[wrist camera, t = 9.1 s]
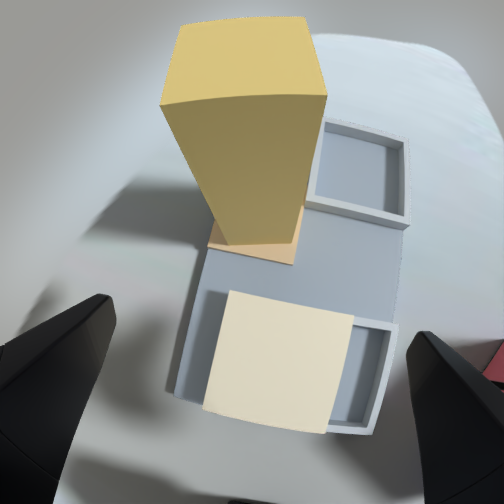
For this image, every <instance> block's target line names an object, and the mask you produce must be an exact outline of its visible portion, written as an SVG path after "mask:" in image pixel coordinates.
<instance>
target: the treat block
mask: <svg viewBox="0 0 504 504" xmlns="http://www.w3.org/2000/svg"><path fill="white" fill-rule="evenodd" d="M326 100H327V91H326V87H325V83H324V80H323V76H322V72H321V69H320V65H319V62H318V58H317V55H316V51H315V48H314V45H313V42H312V38H311V35H310V32H309V29H308V26H307V23H306V20H305V18H304V17H250V18H234V19H223V20H214V21H206V22H199V23H193V24H187V25H182V26H181V29H180V31H179V35H178V38H177V41H176V44H175V48H174V51H173V55H172V58H171V62H170V66H169V69H168V73H167V77H166V81H165V85H164V89H163V93H162V97H161V102H160V107H161V110H162V112H163V114H164V116H165V118H166V120H167V122H168V124H169V126H170V128H171V130H172V132H173V134H174V137H175V139H176V141H177V143H178V145H179V147H180V149H181V151H182V153H183V155H184V157H185V159H186V161H187V163H188V165H189V167H190V169H191V171H192V173H193V175H194V177H195V179H196V181H197V183H198V186H199V188H200V190H201V192H202V194H203V196H204V198H205V200H206V202H207V204H208V206H209V208H210V210H211V212H212V214H213V216H214V218H215V220H216V222H217V224H218V225H219V227H220V229H221V231H222V233H223V235H224V237H225V239H226V241H227V243H228V245H229V246H233V245H262V244H292V240H293V237H294V233H295V229H296V225H297V221H298V217H299V214H300V210H301V206H302V202H303V198H304V194H305V190H306V186H307V182H308V178H309V174H310V170H311V166H312V161H313V157H314V153H315V149H316V144H317V140H318V136H319V131H320V127H321V123H322V118H323V114H324V109H325V105H326Z"/></svg>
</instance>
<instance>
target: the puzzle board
mask: <svg viewBox="0 0 504 504" xmlns="http://www.w3.org/2000/svg"><path fill="white" fill-rule="evenodd" d="M410 216H411V172H410V149H409V139H406V138H403V137H400V136H397V135H394V134H391V133H387V132H384V131H380V130H377V129H373V128H370V127H366V126H362V125H359V124H355V123H351V122H347V121H342V120H338V119H334V118H329V117H325V116H323V118H322V123H321V127H320V131H319V136H318V140H317V144H316V149H315V153H314V157H313V161H312V166H311V170H310V174H309V178H308V182H307V186H306V190H305V194H304V198H303V202H302V206H301V210H300V214H299V217H298V221H297V225H296V229H295V233H294V237H293V240H292V244H262V245H233V246H229V245H228V243H227V241H226V239H225V237H224V235H223V233H222V231H221V229H220V227H219V225H218V224H217V222H216V220H214V223H213V227H212V231H211V234H210V238H209V242H208V245H207V247H208V251H207V255H206V259H205V263H204V267H203V271H202V274H201V278H200V282H199V286H198V290H197V294H196V298H195V302H194V306H193V311H192V315H191V319H190V323H189V327H188V332H187V336H186V340H185V345H184V349H183V354H182V358H181V363H180V367H179V372H178V377H177V381H176V386H175V391H174V397H177V398H180V399H183V400H186V401H190V402H193V403H196V404H200V405H203V407H202V410H205V411H209V412H212V413H216V414H220V415H224V416H227V417H232V418H236V419H240V420H244V421H249V422H253V423H258V424H263V425H268V426H273V427H279V428H285V429H291V430H297V431H304V432H312V433H320V434H325V432H335V433H346V434H360V435H372V433H373V430H374V427H375V424H376V421H377V418H378V414H379V411H380V408H381V404H382V401H383V397H384V393H385V390H386V386H387V382H388V378H389V374H390V370H391V365H392V361H393V356H394V352H395V347H396V342H397V337H398V331H399V325H400V324H397V323H393V318H394V311H395V305H396V298H397V291H398V283H399V274H400V265H401V254H402V241H403V230H405V229H406V228H407V227H409V226H410Z"/></svg>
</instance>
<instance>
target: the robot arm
mask: <svg viewBox="0 0 504 504" xmlns="http://www.w3.org/2000/svg"><path fill="white" fill-rule="evenodd" d="M115 326H116V314H115V309H114V304H113V300H112V298H111V296H109V295H105V294H96V295H94V296H92V297H90V298H88V299H86V300H84V301H82V302H81V303H79V304H77V305H75V306H73V307H71V308H69V309H67V310H65V311H64V312H62V313H60V314H58V315H56V316H54V317H52V318H51V319H49V320H47V321H45V322H43V323H41V324H40V325H38V326H36V327H34V328H32V329H30V330H29V331H27V332H25V333H23V334H21V335H20V336H18V337H16V338H14V339H12V340H11V341H9V342H7V343H5V345H2V346H0V504H53V501H54V497H55V494H56V490H57V487H58V484H59V480H60V476H61V473H62V470H63V467H64V464H65V461H66V458H67V455H68V452H69V449H70V446H71V443H72V440H73V438H74V435H75V432H76V430H77V427H78V424H79V422H80V419H81V416H82V414H83V411H84V409H85V406H86V404H87V401H88V399H89V396H90V394H91V392H92V389H93V387H94V384H95V382H96V380H97V377H98V375H99V373H100V370H101V368H102V365H103V362H104V359H105V356H106V353H107V350H108V347H109V344H110V341H111V338H112V335H113V332H114V329H115ZM406 361H407V368H408V376H409V385H410V394H411V401H412V407H413V412H414V418H415V424H416V430H417V436H418V443H419V450H420V457H421V466H422V475H423V487H424V501H425V504H504V393H503V392H502V391H501V390H500V389H499V388H498V387H497V386H495V385H494V384H493V383H492V382H491V381H490V380H489V379H487V378H486V377H485V376H484V375H483V374H482V373H480V372H479V371H478V370H477V369H476V368H475V367H473V366H472V365H471V364H470V363H469V362H467V361H466V360H465V359H464V358H463V357H461V356H460V355H459V354H458V353H457V352H455V351H454V350H453V349H452V348H451V347H449V346H448V345H447V344H446V343H444V342H443V341H442V340H441V339H439V338H438V337H437V336H436V335H434V334H433V333H432V332H430V331H419V332H418V333H417V334H416V335H415V337H414V339H413V341H412V342H411V344H410V346H409V348H408V349H407V353H406ZM227 504H247V503H242V502H237V501H230V502H228V503H227Z"/></svg>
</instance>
